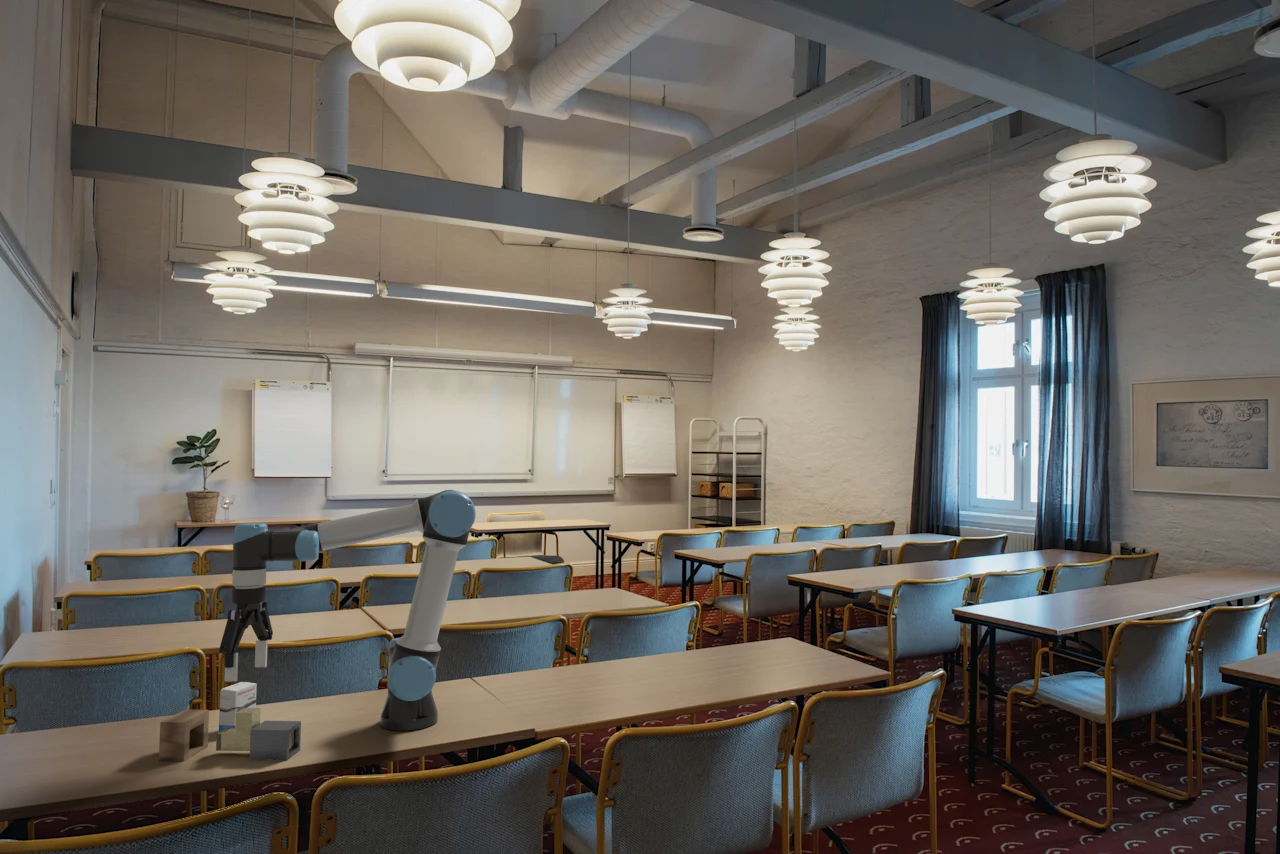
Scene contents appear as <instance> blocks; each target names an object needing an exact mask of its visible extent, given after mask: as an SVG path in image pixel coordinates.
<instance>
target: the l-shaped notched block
mask: <svg viewBox="0 0 1280 854" xmlns="http://www.w3.org/2000/svg"><path fill="white" fill-rule="evenodd" d="M259 724H261V707H256V708H243V709H242V710H240V711H238V712H236V720H235V728H225V729H224V730H222V731H220V732H219V731H218V732H217V733H216V741H215V745H216V746H215V752H216V751H217V752H218V751H219V752H222V751H223V752H225V751H226V752H250V730H251V729H253V728H254V727H256V726H257V725H259ZM293 746H294V731H292V732H291V733H290V737H289V749H290V748H291V747H293Z"/></svg>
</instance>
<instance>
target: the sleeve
mask: <svg viewBox="0 0 1280 854" xmlns="http://www.w3.org/2000/svg"><path fill="white" fill-rule="evenodd" d="M301 729H302V721H301V720H264V721H261V722H260V724H259V725H257V726H256V727H254V728H253V729H251V730H250V751H249V760H250V761H288V760H290V759H291V758H292V757H293V756H295V755H296V754H297V753H298V752H300V751H301V740H302V737H301V736H302V735H301V732H302V730H301ZM292 731H294V746H293V747H291V748H290V749H289V737H290V733H291V732H292Z"/></svg>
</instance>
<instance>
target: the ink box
mask: <svg viewBox="0 0 1280 854" xmlns="http://www.w3.org/2000/svg"><path fill="white" fill-rule="evenodd" d="M257 686H258V685H257V683H255V682H249V681H248V682H247V681H239V682H237V683H234V684H231V685H229V686H225V687H223V688H221V690H220V692H219V716H218V733H219V732H220V731H222V730H224V729H225V728H235V720H236V712H238V711H240V710H242V709H243V708H257Z"/></svg>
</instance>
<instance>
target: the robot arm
mask: <svg viewBox="0 0 1280 854" xmlns="http://www.w3.org/2000/svg"><path fill="white" fill-rule="evenodd" d="M475 508H476V507H475V505H474V503H473V501H472V499H471V498H470V497H469V496H468V495H467V494H466V493H464V492H462V491H459V490H453V489H445V490H442V491H440V492H438V493H435V494H432V495H428V496H425V497H422V498H417V499H415V501H413V503H411V504H406V505H400V506H395V507H391V508H385V509H381V510H376V511H371V512H366V513H362V514H361V513H360V514H358V515H357V514H356V515H353V516H347V517H343V518H338V519H331V520H328V521H322V522H319V523H314V524H309V525H300V526H295V527H293V528H291V529H290V530H280V531H279V530H277V531H275V530H269V529H268V524H266V523H265V522H260V523H259V522H248V523H247V522H246V523H239V524H236V526H235V527H234V533H233V541H232V573H231V577H232V583H231V586H233V588H232V589H231V603H232V604H233V605H236V609H234V610H233V609H232V610H228V612H227V620H226V624H225V628H224V631H223V634H222V639H221V642H220V645H219V649H218V653H220V654H222V655H223V654H224V657H225V658H224V677H223V678H224V680H223V681H224V682H237V681H238V666H239V652H237V651H238V648H239V645H240V643H241V641H242V638H243V636H244V633H245V631H246V629H247V628H249V626H251V628H252V630H253V633H254V634H255V636H256V638H257V640H256V641H255V645H254V646H255V647H254V648H255V652H254V668H267V666H268V641H271V640H272V639H273V634H274V632H273V628H272V624H271V623H272V622H271V619H270V615H269V610H268V602H267V601H266V586H265V585H266V584H267V563H268V562H299V561H300V562H305V561H315V560H316V559H318V557H319V552H323V551H328V550H333V549H337V548H342V547H348V546H351V545H355V544H356V545H357V544H361V543H366V542H370V541H375V540H379V539H384V538H389V537H394V536H398V535H403V534H407V533H408V534H409V533H414V532H420V533H422V539H423V540H424V542H425V549H424V552H423V557H422V562H421V565H420V570H419V571H418V572H419V573H418V576H417V577H418V578H417V580H416V584H415V589H414V592H413V597H412V601H411V604H410V605H411V606H410V609H409V612H408V617H407V621H406V625H405V628H404V633H403V635H401V637H396V638H395V637H394V638H392V639H390V641H389V642H388V643H389V644H388V647H387V651H388V663H387V665H388V668H387V669H388V670H387V676H386V682H387V696H386V699H385V702H384V705H383V708H382V712H381V714H380V722H379V723H380V727H382V728H383V729H385V730H389V731H390V730H391V731H401V732H402V731H414V730H422V729H425V728H428V727H431V726H433V725H435V724H437V722H438V719H439V717H438V716H439V713H438V712H439V711H438V708H437V706H436V702H435V698H434V695H433V692H432V690H433V687H434V686H435V684H436V681H437V667H438V662H439V658H440V654H441V650H442V647H441V645H440V644H439V643H438V637H439V634H440V629H441V625H442V621H443V617H444V614H445V610H446V609H445V608H446V605H447V601H448V596H449V594H450V593H449V592H450V589H451V586H452V585H451V584H452V580H453V576H454V572H455V568H456V564H457V560H458V556H459V552H460V551H461V550H462V549H463V548H465V547H467V543H468V539H469V536H470V531H471V528H472V527H473V525H474V523H475V521H476V520H475V519H476V513H477V512H476V509H475Z"/></svg>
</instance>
